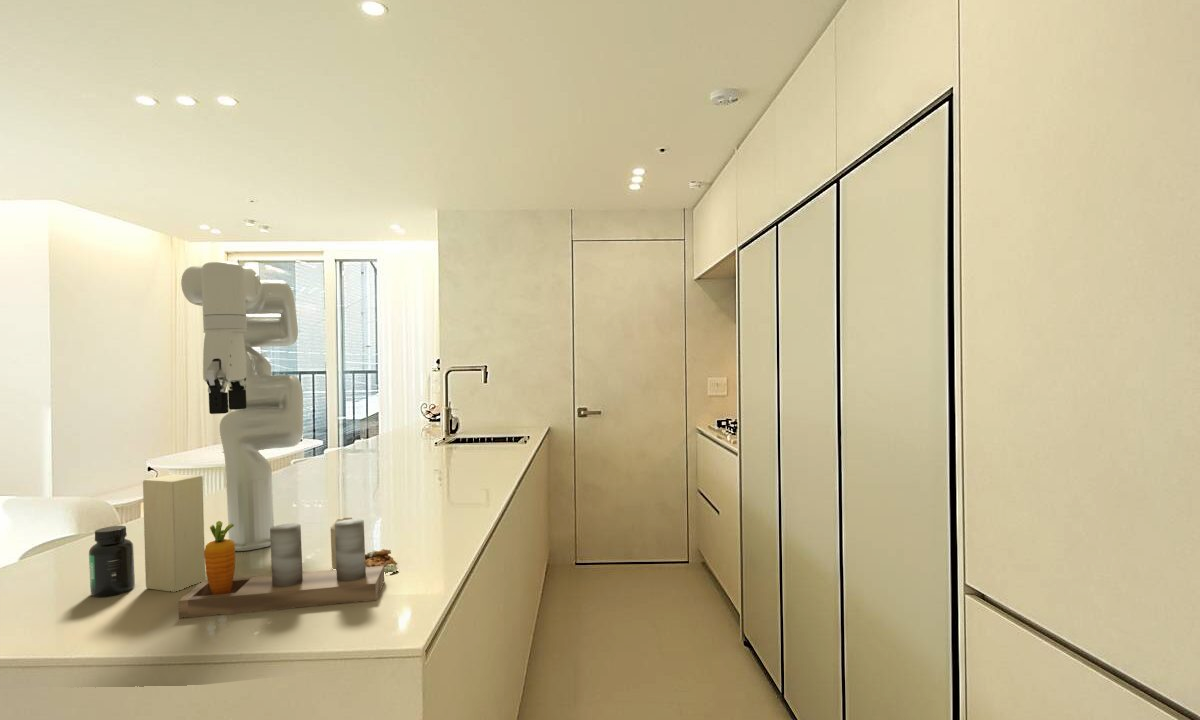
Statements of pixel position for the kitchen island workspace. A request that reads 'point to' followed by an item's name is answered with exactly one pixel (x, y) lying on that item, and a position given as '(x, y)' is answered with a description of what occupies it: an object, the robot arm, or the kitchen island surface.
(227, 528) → the carrot
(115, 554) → the supplement bottle
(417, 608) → the kitchen island surface
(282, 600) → the rail
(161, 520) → the beige tall rectangular block
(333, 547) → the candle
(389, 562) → the brown irregular lump
